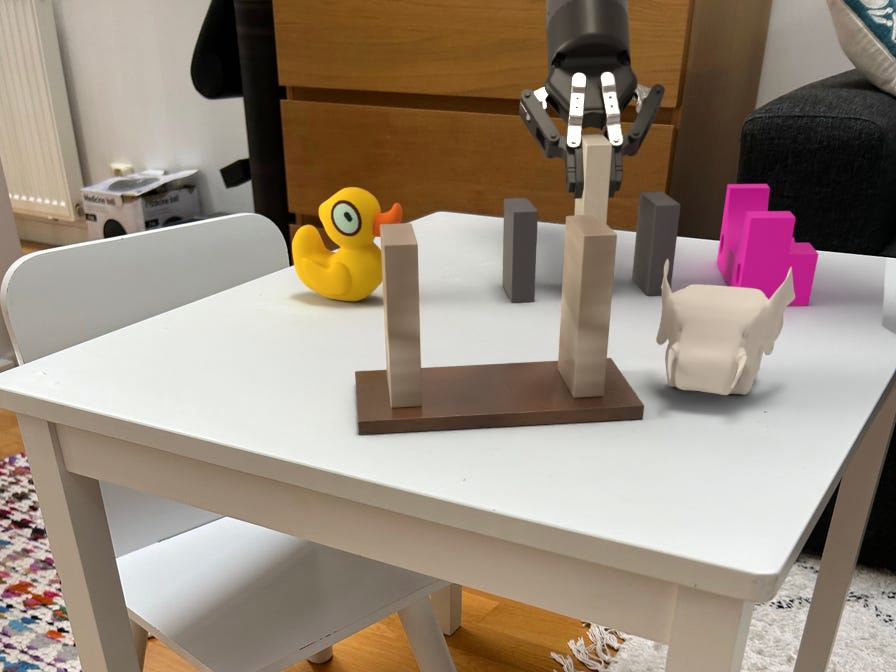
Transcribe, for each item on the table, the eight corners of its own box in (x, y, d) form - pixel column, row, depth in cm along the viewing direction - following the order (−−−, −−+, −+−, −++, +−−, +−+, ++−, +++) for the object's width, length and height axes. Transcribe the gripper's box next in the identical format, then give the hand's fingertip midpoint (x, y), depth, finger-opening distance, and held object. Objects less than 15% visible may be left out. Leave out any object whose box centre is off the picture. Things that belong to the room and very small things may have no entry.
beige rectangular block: (594, 258, 97) (602, 133, 91) (602, 274, 92) (612, 144, 86) (572, 258, 97) (578, 134, 91) (579, 275, 92) (586, 145, 86)
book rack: (610, 370, 78) (623, 206, 71) (643, 419, 70) (662, 239, 63) (355, 383, 77) (344, 219, 70) (358, 434, 69) (346, 254, 62)
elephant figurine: (627, 411, 71) (639, 283, 66) (658, 357, 80) (672, 241, 75) (766, 427, 68) (790, 295, 63) (782, 369, 77) (805, 249, 72)
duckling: (416, 296, 96) (413, 184, 90) (393, 312, 92) (388, 196, 86) (312, 287, 100) (302, 179, 94) (286, 302, 96) (274, 190, 90)
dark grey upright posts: (653, 277, 99) (662, 191, 94) (670, 294, 94) (680, 204, 89) (502, 285, 98) (504, 198, 94) (511, 302, 93) (513, 212, 89)
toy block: (808, 305, 90) (825, 217, 86) (737, 305, 91) (751, 218, 86) (778, 262, 102) (792, 183, 98) (716, 262, 103) (727, 184, 99)
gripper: (514, -5, 89) (520, 168, 86) (670, -12, 88) (682, 163, 85) (510, 58, 96) (515, 220, 93) (654, 52, 96) (664, 215, 93)
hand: (595, 192), depth 89 cm, fingers closed on beige rectangular block, 2 cm apart
